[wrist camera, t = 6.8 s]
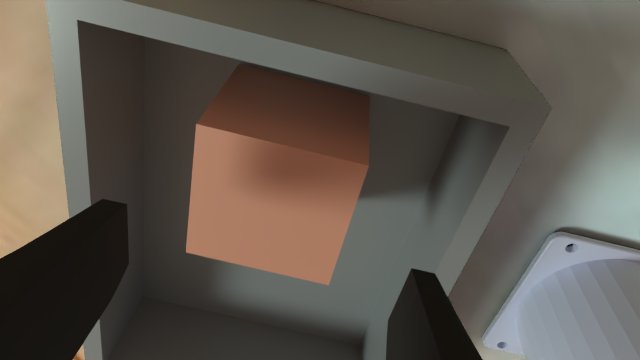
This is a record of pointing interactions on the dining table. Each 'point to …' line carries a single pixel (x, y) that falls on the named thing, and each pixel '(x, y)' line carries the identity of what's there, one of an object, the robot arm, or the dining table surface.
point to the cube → (277, 173)
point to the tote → (375, 196)
